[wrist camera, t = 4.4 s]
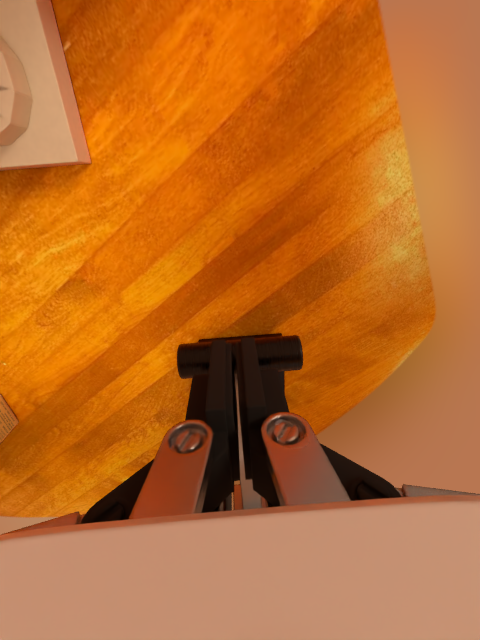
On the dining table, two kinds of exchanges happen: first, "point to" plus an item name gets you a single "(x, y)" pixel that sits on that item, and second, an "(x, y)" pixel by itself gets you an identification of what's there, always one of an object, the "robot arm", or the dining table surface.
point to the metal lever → (270, 355)
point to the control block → (36, 91)
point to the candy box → (6, 419)
